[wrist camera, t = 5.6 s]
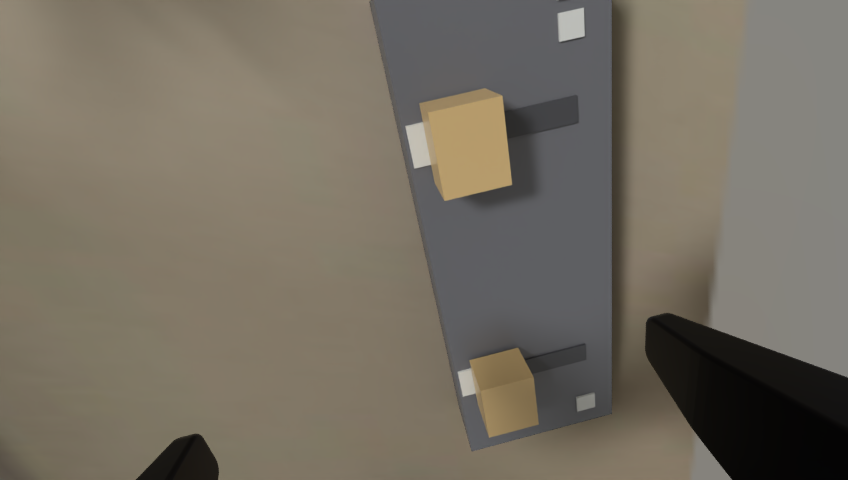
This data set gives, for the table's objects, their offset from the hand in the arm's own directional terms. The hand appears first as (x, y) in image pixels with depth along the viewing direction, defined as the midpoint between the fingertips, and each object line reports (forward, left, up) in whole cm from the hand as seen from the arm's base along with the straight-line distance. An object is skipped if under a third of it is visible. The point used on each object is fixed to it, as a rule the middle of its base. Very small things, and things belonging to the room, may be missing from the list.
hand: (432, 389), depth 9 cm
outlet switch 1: (+1, -4, -9) cm, 10 cm away
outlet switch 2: (-10, +2, -9) cm, 14 cm away
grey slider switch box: (-6, -3, -13) cm, 14 cm away
